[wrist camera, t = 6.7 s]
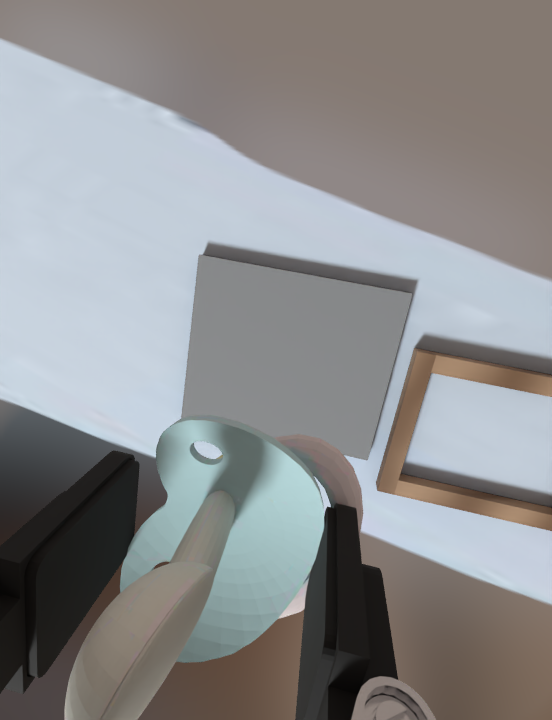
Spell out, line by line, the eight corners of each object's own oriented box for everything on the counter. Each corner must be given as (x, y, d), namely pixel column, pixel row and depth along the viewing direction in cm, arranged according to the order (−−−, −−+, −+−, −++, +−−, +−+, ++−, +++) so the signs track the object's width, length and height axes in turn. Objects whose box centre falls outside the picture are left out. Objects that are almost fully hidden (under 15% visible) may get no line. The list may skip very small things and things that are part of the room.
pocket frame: (629, 389, 24) (641, 395, 23) (565, 526, 27) (574, 536, 26) (414, 347, 25) (417, 351, 25) (375, 482, 28) (377, 490, 28)
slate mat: (410, 292, 25) (412, 293, 24) (366, 454, 28) (367, 460, 27) (202, 254, 26) (199, 254, 25) (185, 414, 29) (181, 418, 28)
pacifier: (400, 443, 10) (194, 365, 10) (509, 707, 4) (21, 521, 4) (304, 628, 12) (134, 563, 13) (289, 975, 6) (-36, 847, 7)
